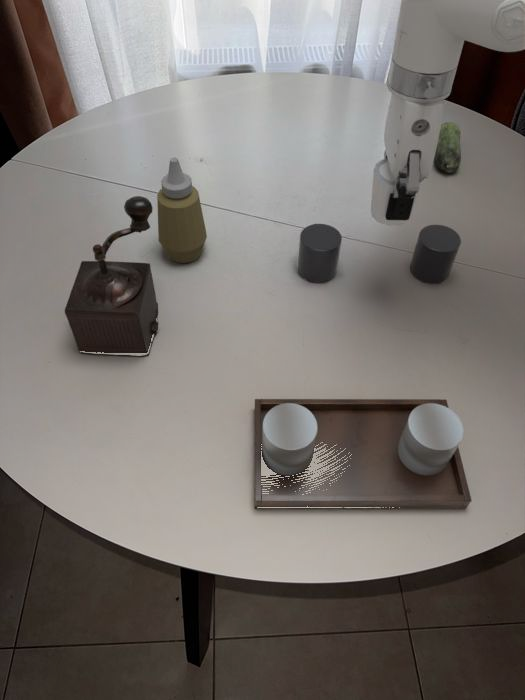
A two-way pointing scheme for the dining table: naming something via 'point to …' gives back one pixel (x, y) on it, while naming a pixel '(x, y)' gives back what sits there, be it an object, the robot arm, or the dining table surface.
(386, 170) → the white cup
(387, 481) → the tray
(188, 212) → the squeeze bottle
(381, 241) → the dining table surface
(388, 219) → the robot arm
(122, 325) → the manual coffee grinder
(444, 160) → the vegetable
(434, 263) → the grey cylinders
